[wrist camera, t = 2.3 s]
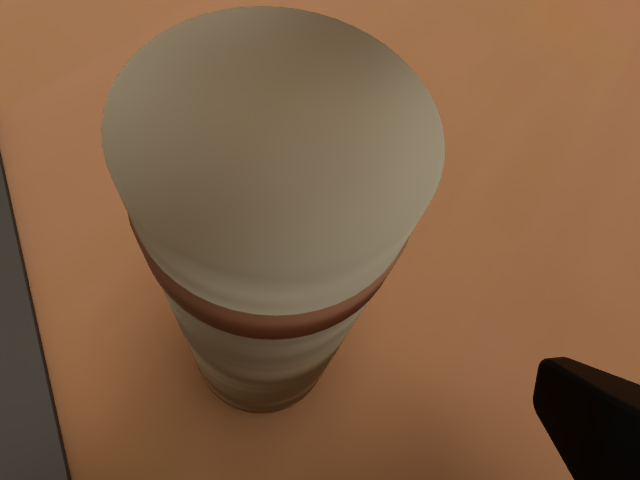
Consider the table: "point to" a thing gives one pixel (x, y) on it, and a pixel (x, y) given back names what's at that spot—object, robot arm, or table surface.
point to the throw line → (23, 370)
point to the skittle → (270, 185)
